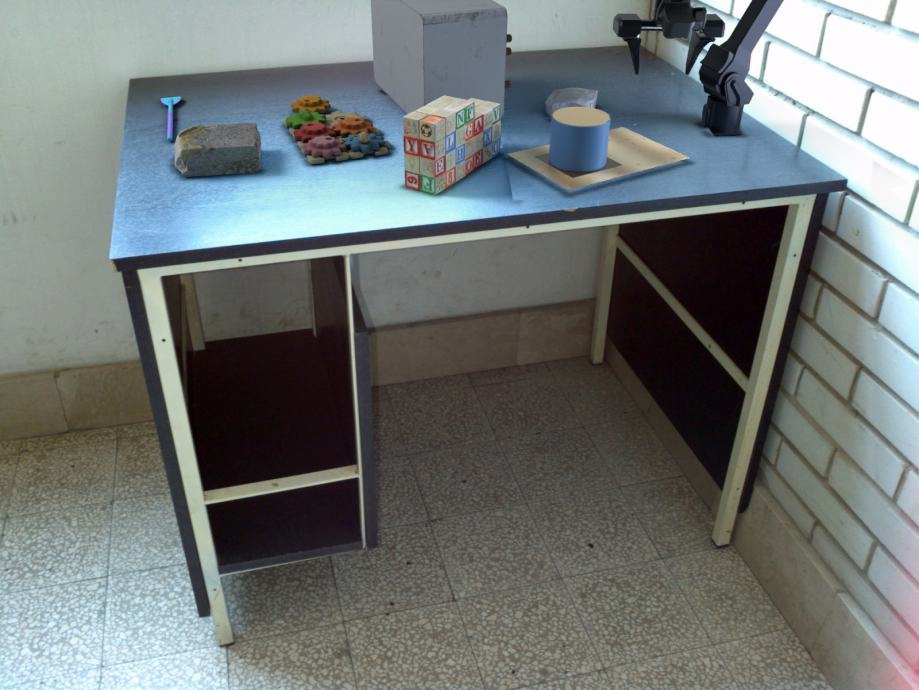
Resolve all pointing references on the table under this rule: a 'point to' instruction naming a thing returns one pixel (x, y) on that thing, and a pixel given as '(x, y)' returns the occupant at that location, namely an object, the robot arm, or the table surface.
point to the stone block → (570, 99)
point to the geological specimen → (218, 150)
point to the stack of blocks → (449, 141)
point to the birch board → (622, 159)
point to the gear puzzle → (332, 132)
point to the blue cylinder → (579, 139)
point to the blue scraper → (170, 114)
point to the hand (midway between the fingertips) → (661, 74)
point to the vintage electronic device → (440, 50)
